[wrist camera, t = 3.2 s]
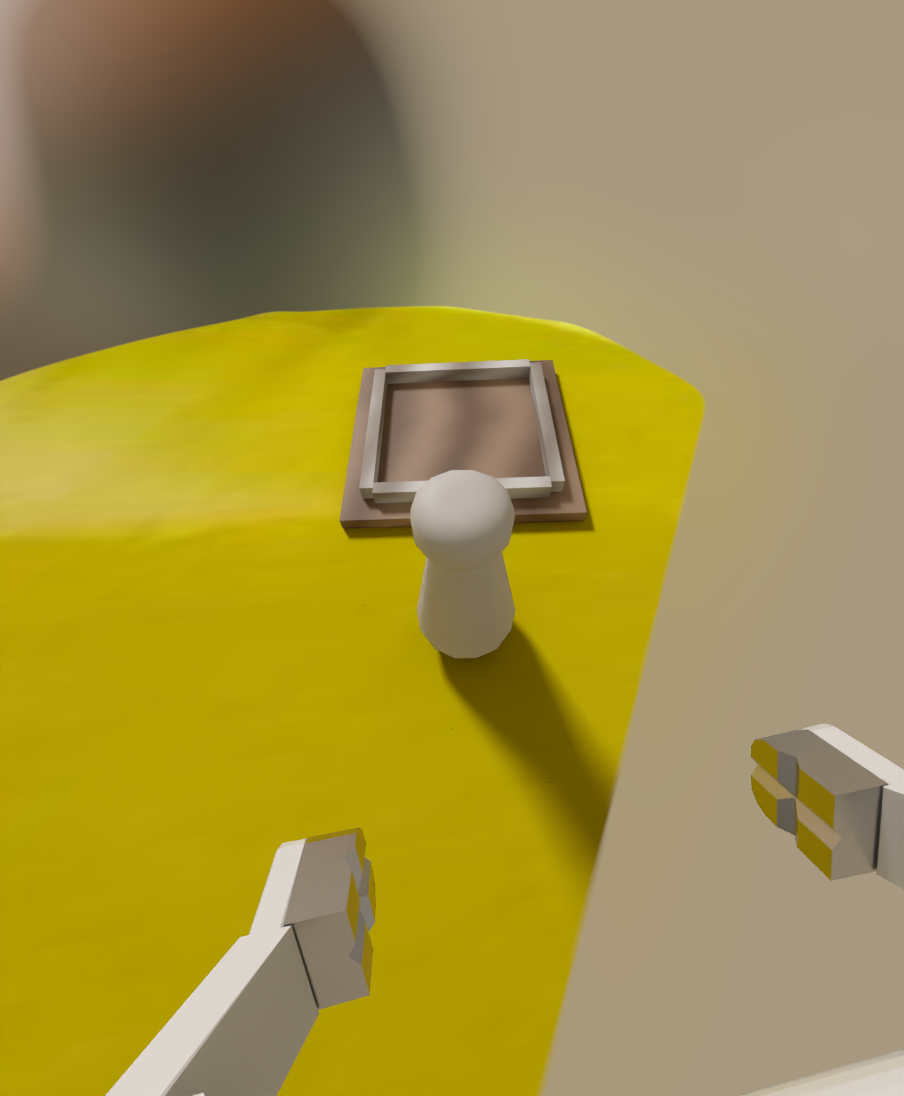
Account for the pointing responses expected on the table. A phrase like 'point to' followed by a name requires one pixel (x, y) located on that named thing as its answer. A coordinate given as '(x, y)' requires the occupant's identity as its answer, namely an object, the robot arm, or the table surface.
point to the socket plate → (460, 439)
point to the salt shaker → (464, 562)
